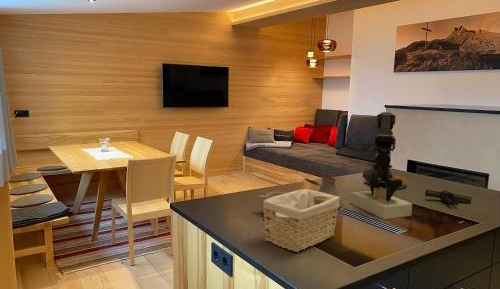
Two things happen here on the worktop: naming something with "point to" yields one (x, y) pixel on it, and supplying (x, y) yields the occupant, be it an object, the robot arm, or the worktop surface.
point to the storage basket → (300, 218)
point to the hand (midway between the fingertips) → (380, 197)
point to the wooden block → (380, 194)
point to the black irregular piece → (448, 197)
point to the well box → (381, 205)
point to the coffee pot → (326, 187)
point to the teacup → (269, 196)
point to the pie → (401, 179)
